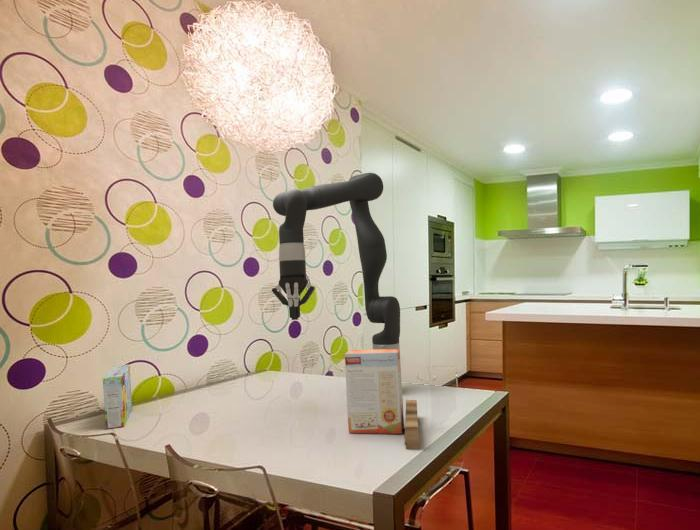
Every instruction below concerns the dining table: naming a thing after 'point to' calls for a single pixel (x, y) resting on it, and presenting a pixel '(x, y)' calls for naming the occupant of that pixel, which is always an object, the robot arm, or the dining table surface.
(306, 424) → the dining table surface
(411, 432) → the notched wooden bar
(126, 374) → the snack box
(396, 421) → the cracker box
